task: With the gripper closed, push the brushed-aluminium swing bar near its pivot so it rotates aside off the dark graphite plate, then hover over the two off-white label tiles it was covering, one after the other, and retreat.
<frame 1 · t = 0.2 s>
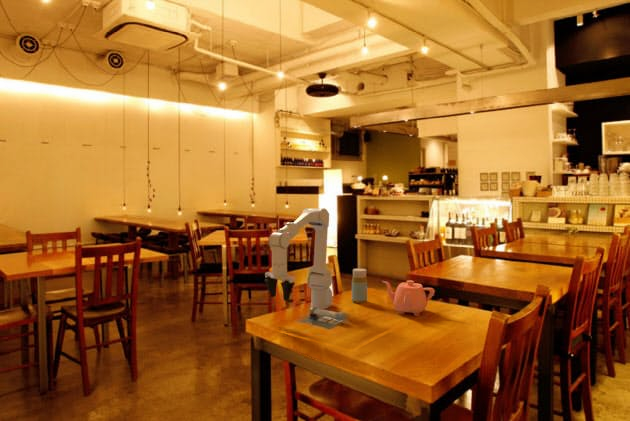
hand: (279, 298, 168), 10 cm above the table, fingers open, 7 cm apart
teapot: (407, 312, 184), on the table
swing arm: (326, 314, 171), point 3 cm above the table, hinge at 0.0°
plate: (323, 322, 170), on the table
bottle: (359, 302, 201), on the table
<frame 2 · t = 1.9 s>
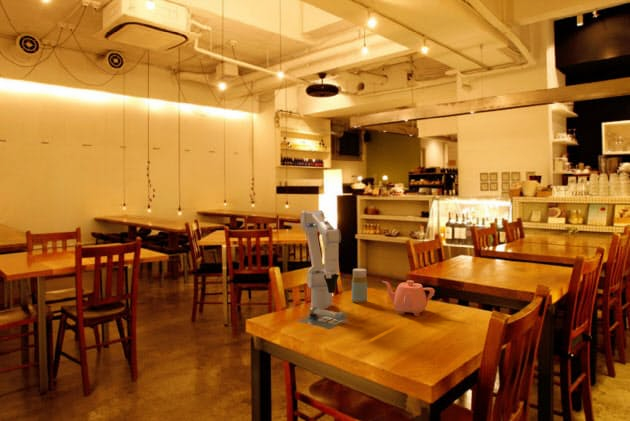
hand: (331, 292, 175), 10 cm above the table, fingers closed
nothing on the table moved.
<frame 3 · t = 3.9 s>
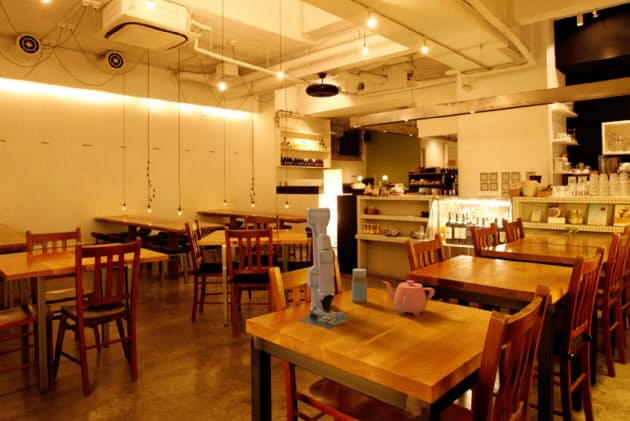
hand: (326, 313, 173), 3 cm above the table, fingers closed, pressing on swing arm
swing arm: (326, 314, 170), point 3 cm above the table, hinge at 0.7°, touching gripper
everything else where it was.
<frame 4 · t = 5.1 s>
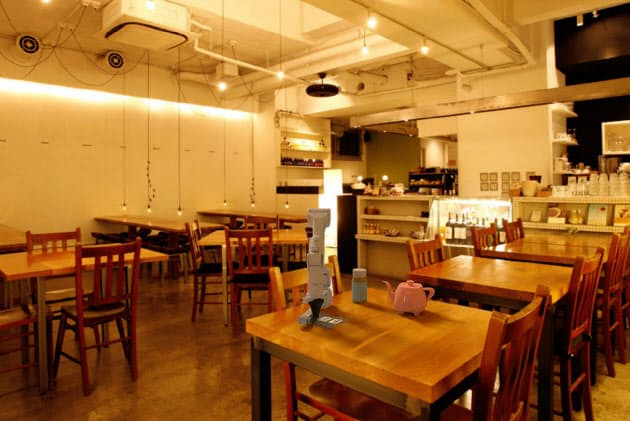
hand: (315, 317, 168), 3 cm above the table, fingers closed, pressing on swing arm
swing arm: (308, 315, 168), point 3 cm above the table, hinge at 68.2°, touching gripper
everything else where it was.
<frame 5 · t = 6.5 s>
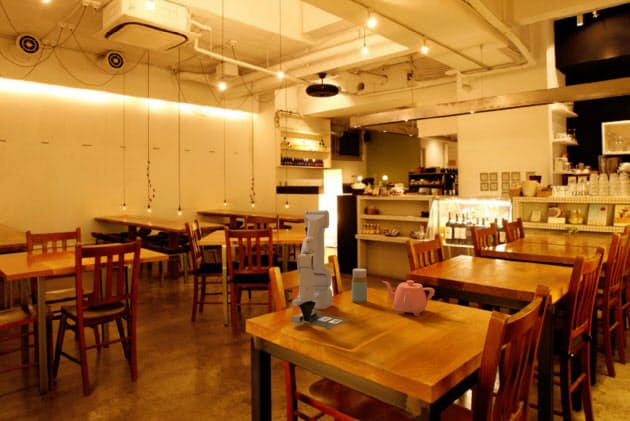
hand: (306, 321, 163), 3 cm above the table, fingers closed
swing arm: (305, 315, 169), point 3 cm above the table, hinge at 78.5°, touching gripper
everything else where it was.
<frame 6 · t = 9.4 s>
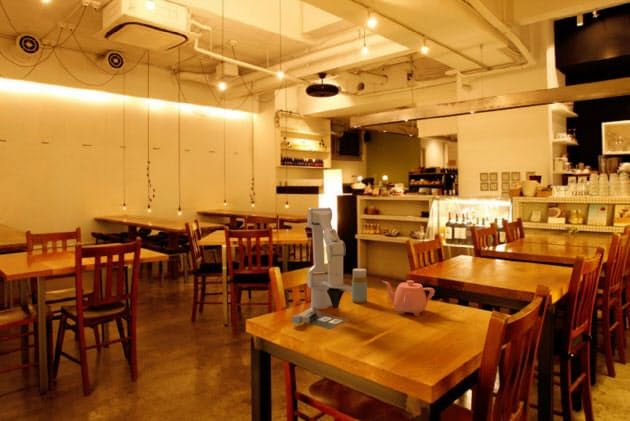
hand: (335, 307, 168), 6 cm above the table, fingers closed
swing arm: (305, 315, 169), point 3 cm above the table, hinge at 78.8°
everything else where it was.
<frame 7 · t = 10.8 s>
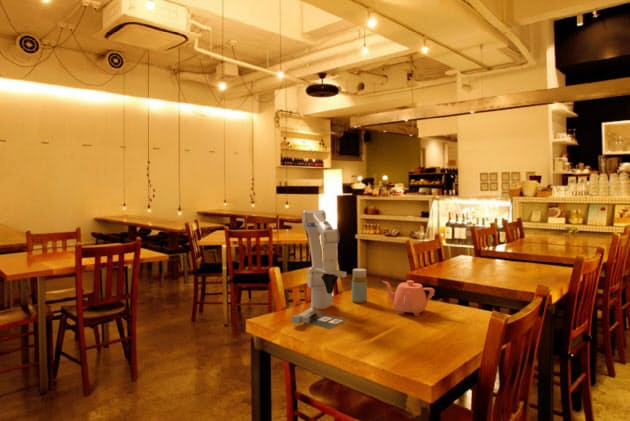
hand: (329, 293, 174), 10 cm above the table, fingers closed
nothing on the table moved.
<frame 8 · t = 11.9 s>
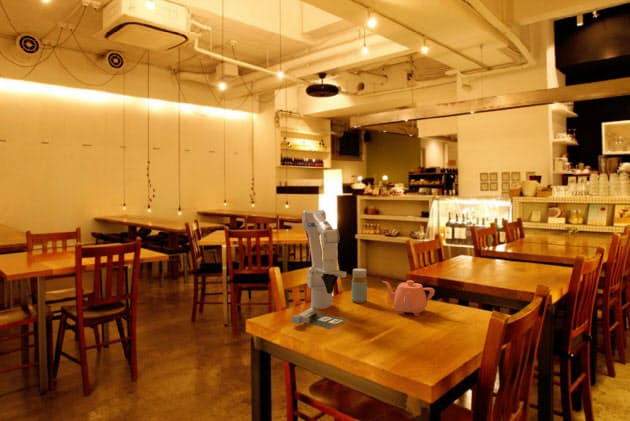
hand: (329, 293, 174), 10 cm above the table, fingers closed
nothing on the table moved.
at the end: swing arm at +79° (first picture: +0°) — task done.
